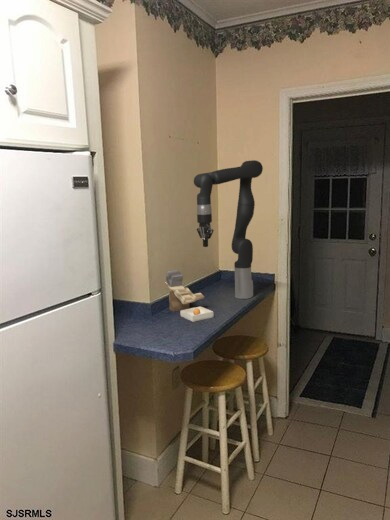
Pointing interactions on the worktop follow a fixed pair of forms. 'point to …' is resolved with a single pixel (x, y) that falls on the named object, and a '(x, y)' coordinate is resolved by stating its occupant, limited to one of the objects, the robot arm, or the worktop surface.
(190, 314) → the dish
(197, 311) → the ball
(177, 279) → the lever
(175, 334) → the worktop surface
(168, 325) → the worktop surface
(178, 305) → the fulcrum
